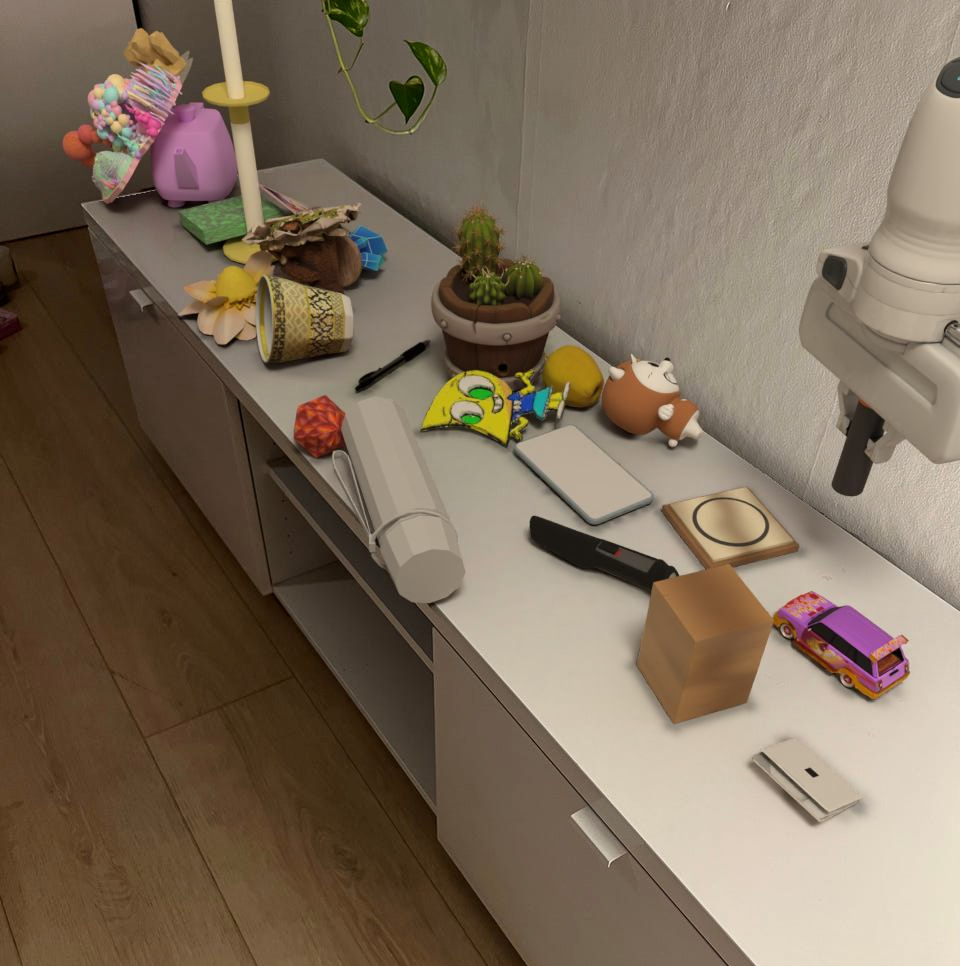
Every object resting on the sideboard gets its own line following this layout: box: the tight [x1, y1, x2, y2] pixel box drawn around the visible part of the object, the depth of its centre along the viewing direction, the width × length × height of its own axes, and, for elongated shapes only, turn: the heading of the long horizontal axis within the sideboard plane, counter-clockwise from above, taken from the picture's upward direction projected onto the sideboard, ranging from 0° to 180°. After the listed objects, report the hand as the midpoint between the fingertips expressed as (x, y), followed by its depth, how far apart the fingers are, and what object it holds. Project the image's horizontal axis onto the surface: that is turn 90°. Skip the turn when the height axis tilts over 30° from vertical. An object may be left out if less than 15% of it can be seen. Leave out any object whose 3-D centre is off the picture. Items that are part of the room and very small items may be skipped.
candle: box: [201, 0, 280, 265], centre depth 127 cm, size 10×10×38 cm
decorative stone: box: [293, 394, 346, 459], centre depth 106 cm, size 6×7×8 cm
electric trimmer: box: [529, 515, 680, 592], centre depth 95 cm, size 4×16×3 cm, turn 59°
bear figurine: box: [241, 201, 363, 295], centre depth 128 cm, size 14×15×12 cm
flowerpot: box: [430, 197, 562, 398], centre depth 112 cm, size 14×15×20 cm
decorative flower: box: [177, 250, 287, 345], centre depth 127 cm, size 15×11×10 cm
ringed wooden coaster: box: [661, 485, 800, 570], centre depth 100 cm, size 10×10×1 cm
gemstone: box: [335, 224, 389, 288], centre depth 135 cm, size 7×9×12 cm
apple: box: [541, 344, 605, 408], centre depth 114 cm, size 6×6×8 cm
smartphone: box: [513, 424, 655, 526], centre depth 105 cm, size 8×1×15 cm
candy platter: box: [61, 27, 194, 205], centre depth 143 cm, size 25×24×9 cm
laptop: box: [751, 737, 863, 823], centre depth 78 cm, size 7×6×2 cm
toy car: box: [772, 590, 911, 700], centre depth 87 cm, size 6×12×5 cm, turn 35°
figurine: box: [601, 353, 704, 448], centre depth 109 cm, size 9×9×12 cm
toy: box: [420, 369, 571, 449], centre depth 110 cm, size 10×1×15 cm
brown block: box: [636, 564, 774, 725], centre depth 82 cm, size 7×7×10 cm
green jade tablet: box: [177, 194, 285, 245], centre depth 143 cm, size 11×12×2 cm
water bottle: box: [331, 396, 466, 604], centre depth 97 cm, size 9×8×25 cm
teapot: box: [150, 101, 238, 208], centre depth 148 cm, size 20×12×13 cm, turn 3°
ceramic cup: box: [256, 275, 355, 364], centre depth 120 cm, size 13×10×10 cm
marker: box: [830, 397, 886, 498], centre depth 85 cm, size 3×3×11 cm
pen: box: [354, 339, 431, 392], centre depth 120 cm, size 14×2×1 cm, turn 144°
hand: (861, 444), depth 86 cm, fingers closed on marker, 3 cm apart
